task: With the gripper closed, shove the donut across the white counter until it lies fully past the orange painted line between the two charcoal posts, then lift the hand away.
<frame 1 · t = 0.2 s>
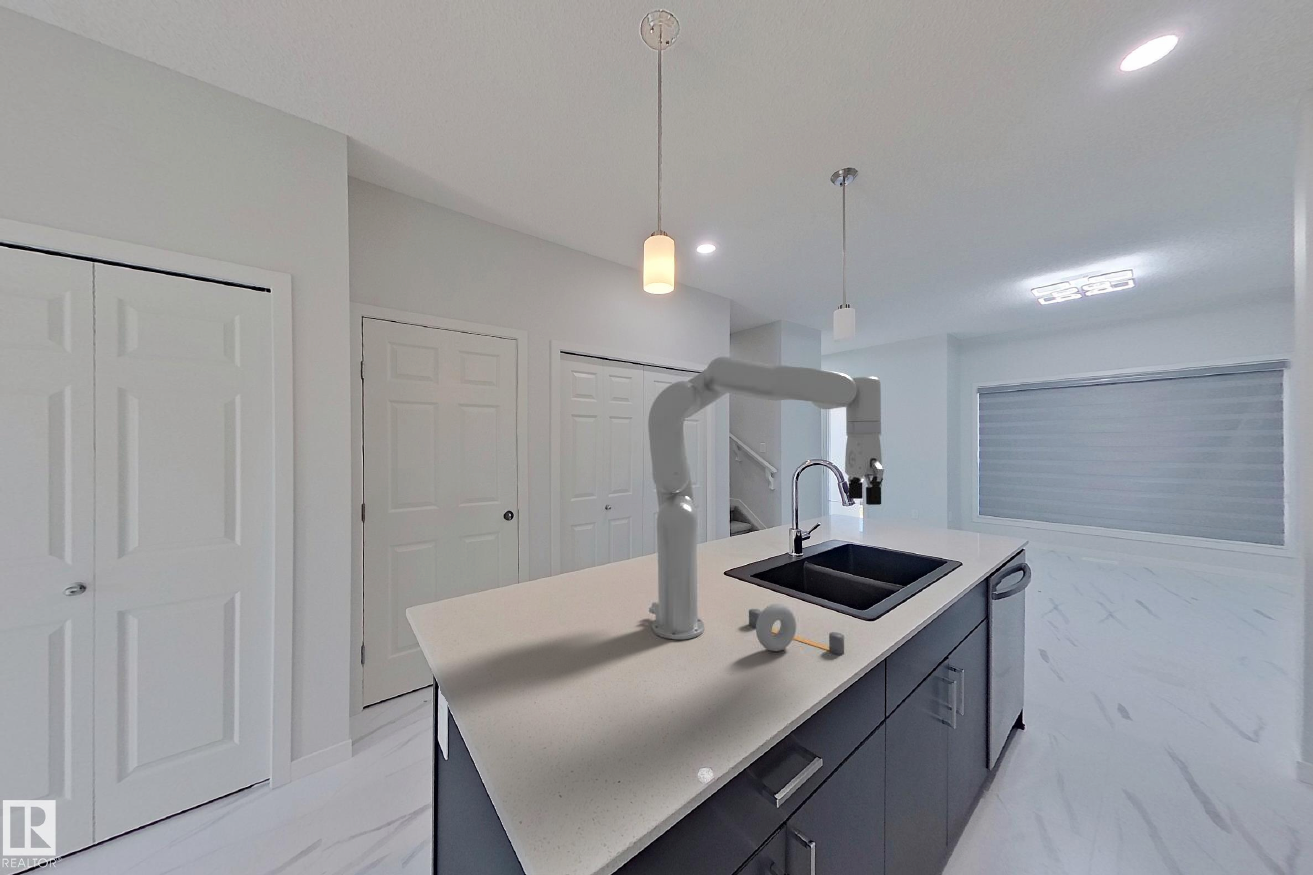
hand: (864, 501, 106), 31 cm above the counter, tool pointing down, fingers open, 9 cm apart
throw line: (793, 637, 103), on the counter
donut: (776, 650, 97), on the counter
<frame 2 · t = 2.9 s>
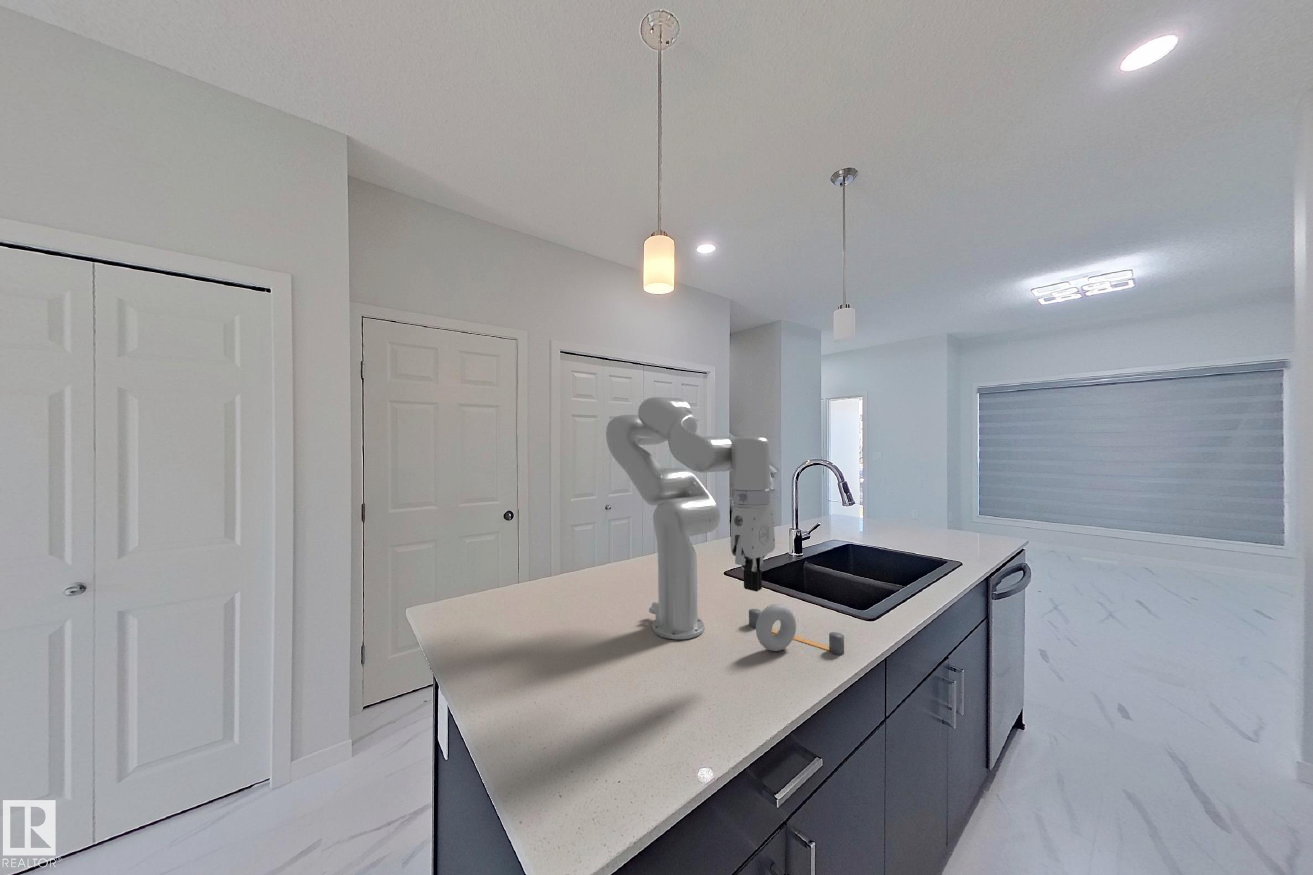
hand: (752, 588, 90), 16 cm above the counter, tool pointing down, fingers closed
nothing on the counter moved.
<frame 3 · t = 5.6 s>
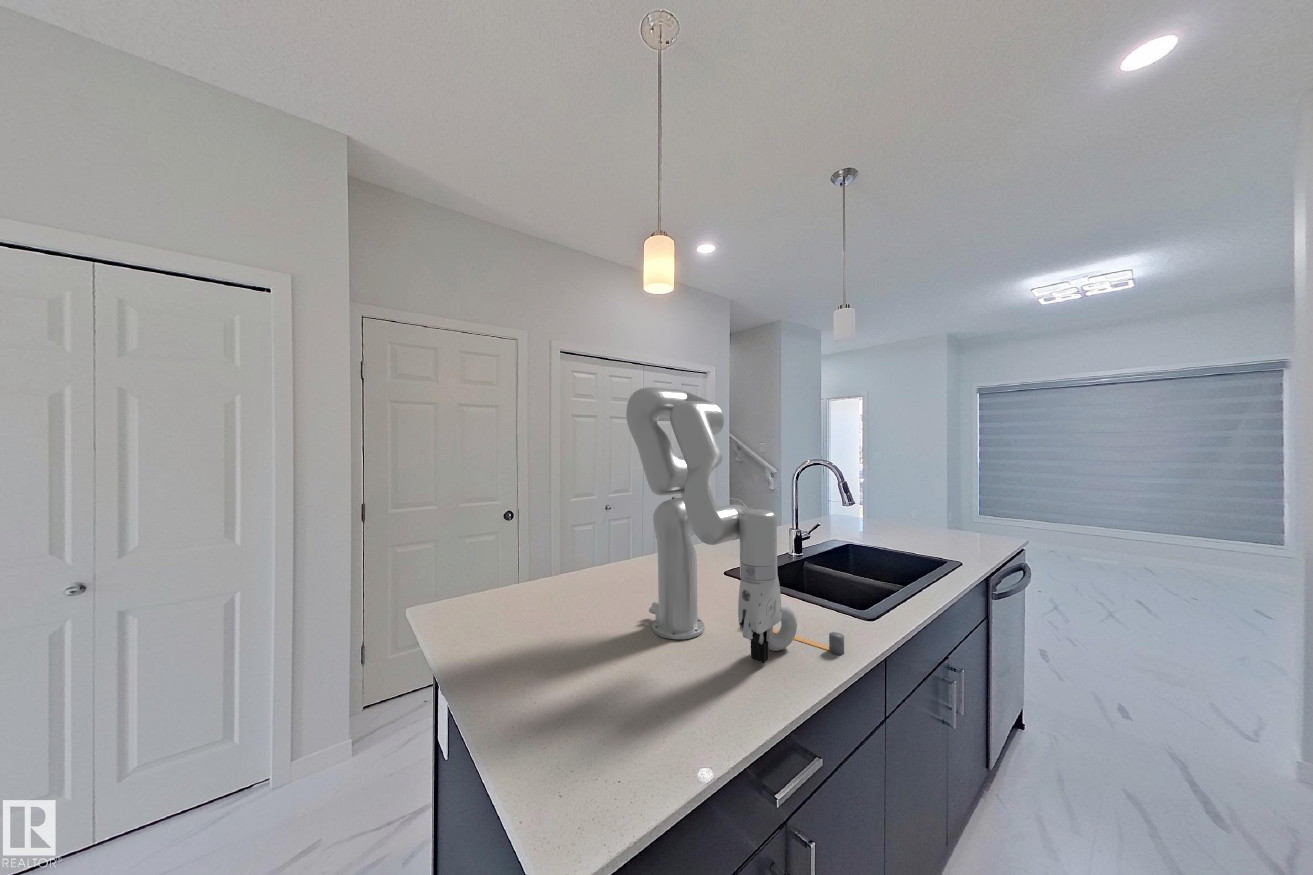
hand: (759, 659, 92), 1 cm above the counter, tool pointing down, fingers closed
donut: (777, 650, 97), on the counter, touching gripper
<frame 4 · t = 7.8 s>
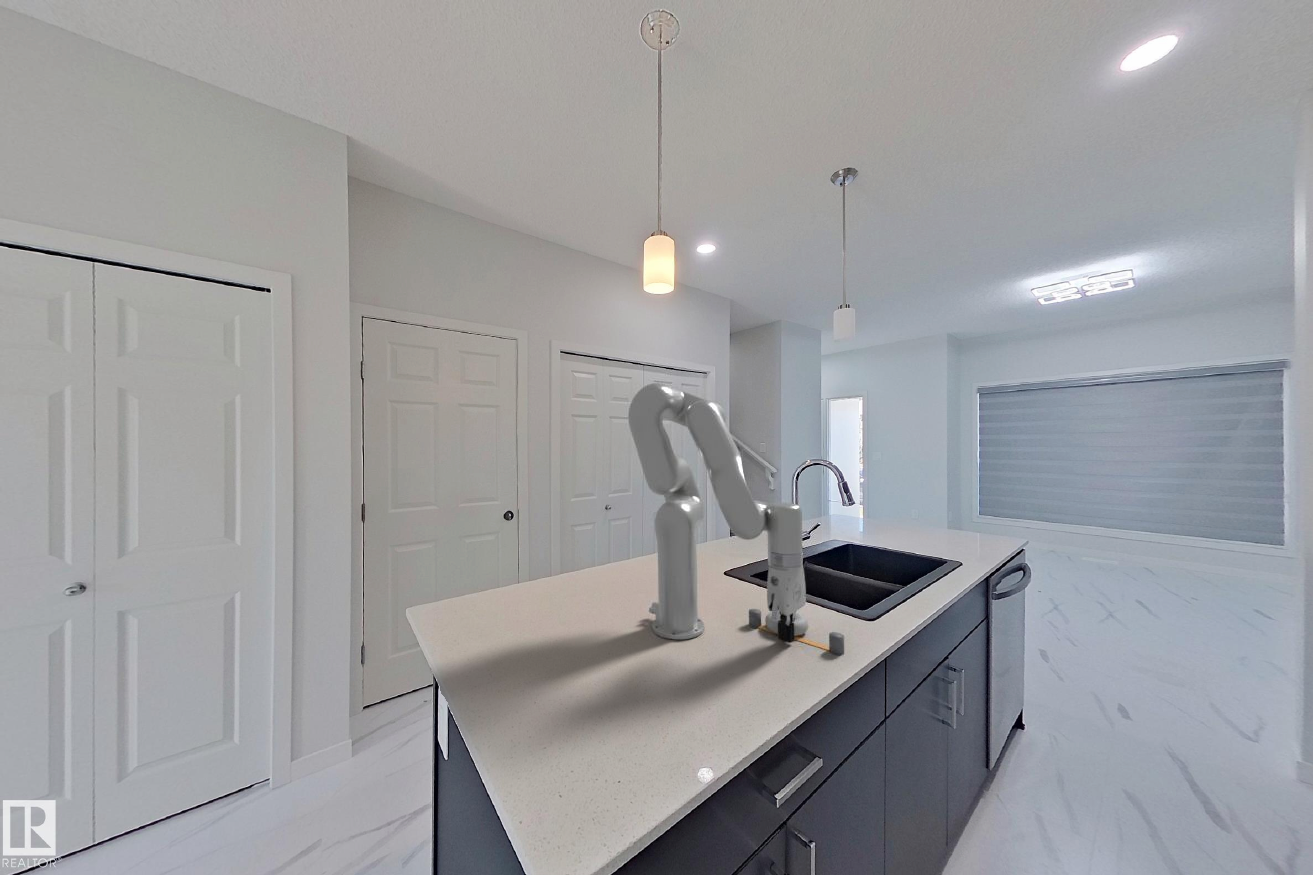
hand: (786, 639, 100), 1 cm above the counter, tool pointing down, fingers closed
donut: (783, 631, 102), point 2 cm above the counter, touching gripper, throw line
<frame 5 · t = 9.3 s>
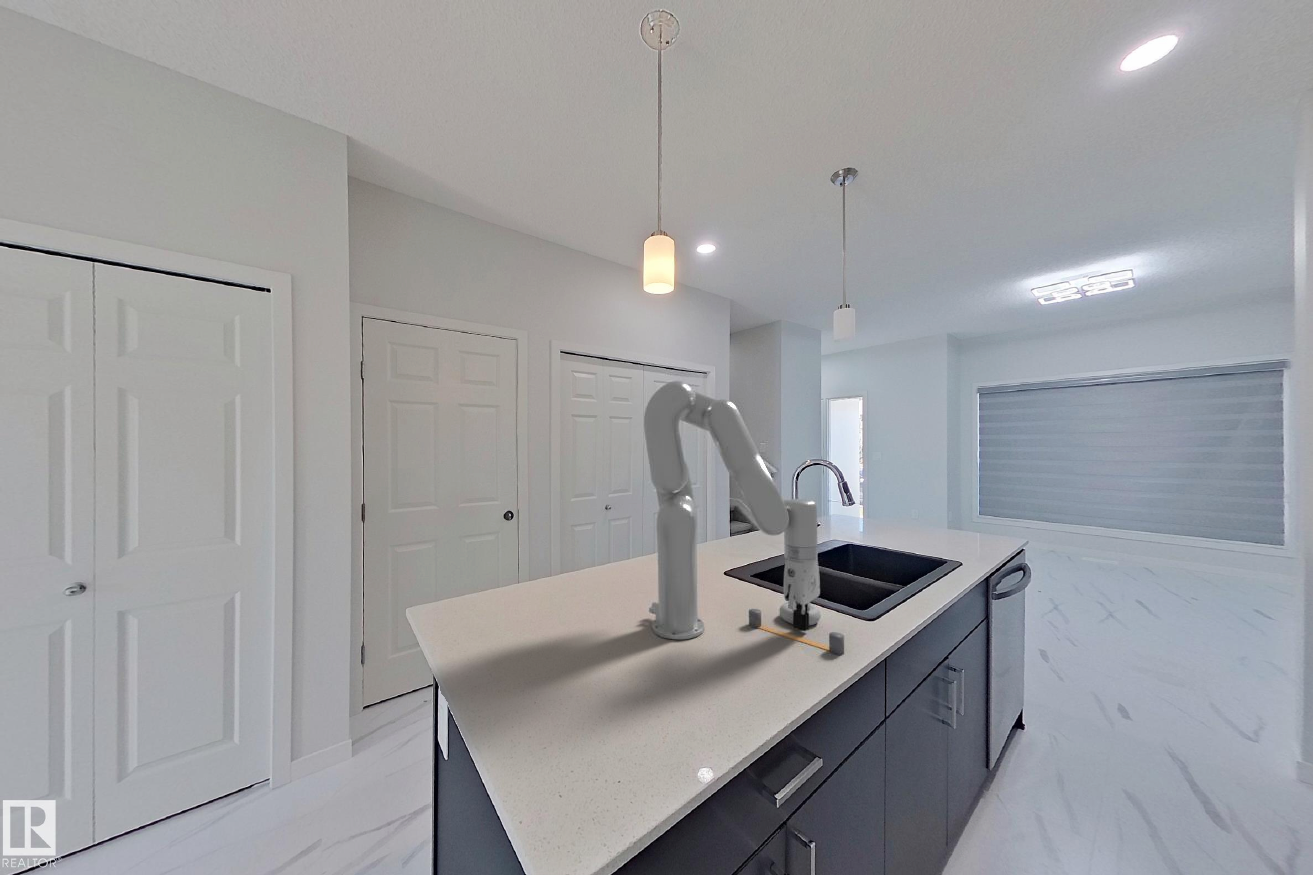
hand: (801, 628, 106), 1 cm above the counter, tool pointing down, fingers closed
donut: (797, 621, 108), point 2 cm above the counter, touching gripper
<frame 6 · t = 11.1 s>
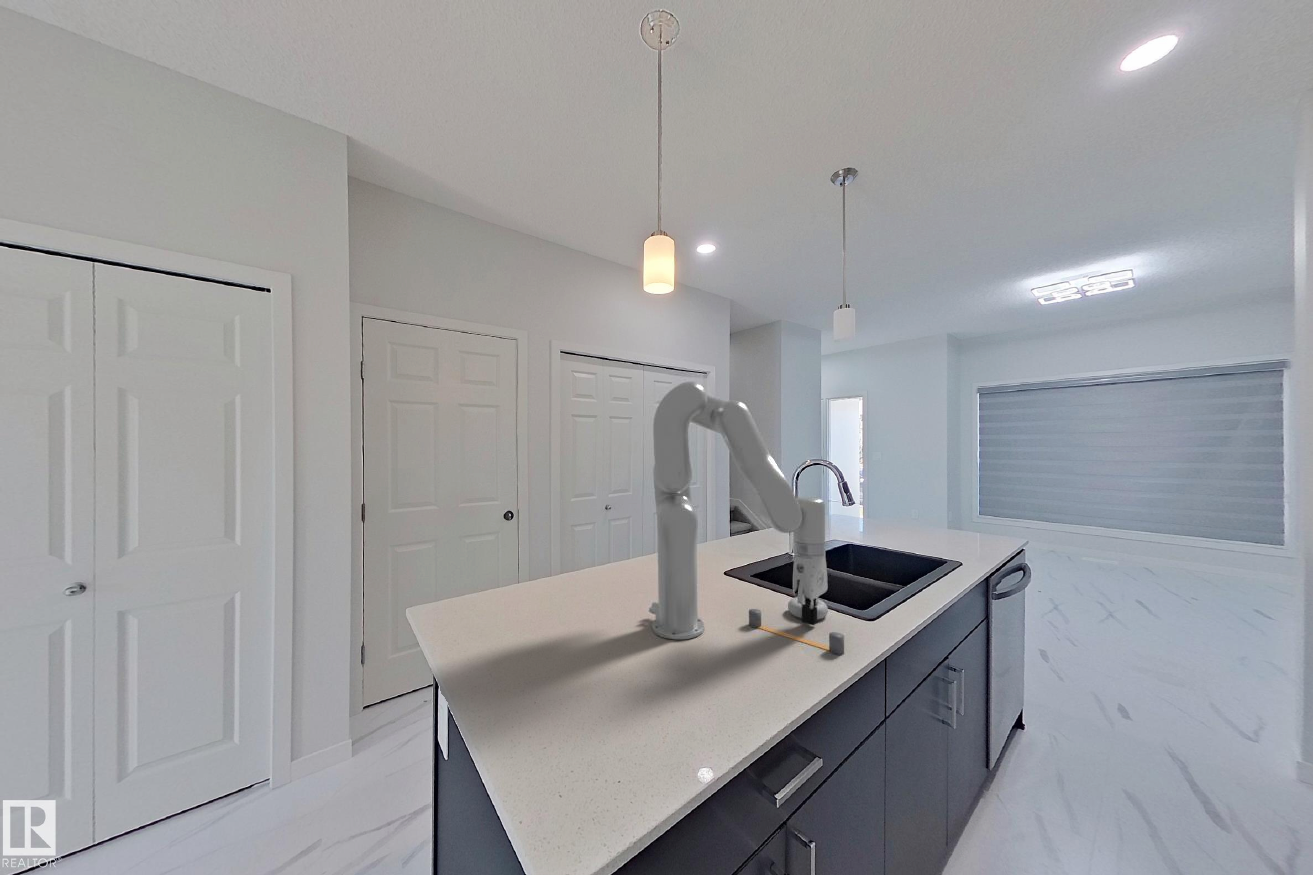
hand: (809, 622, 109), 1 cm above the counter, tool pointing down, fingers closed
donut: (805, 615, 112), point 2 cm above the counter, touching gripper
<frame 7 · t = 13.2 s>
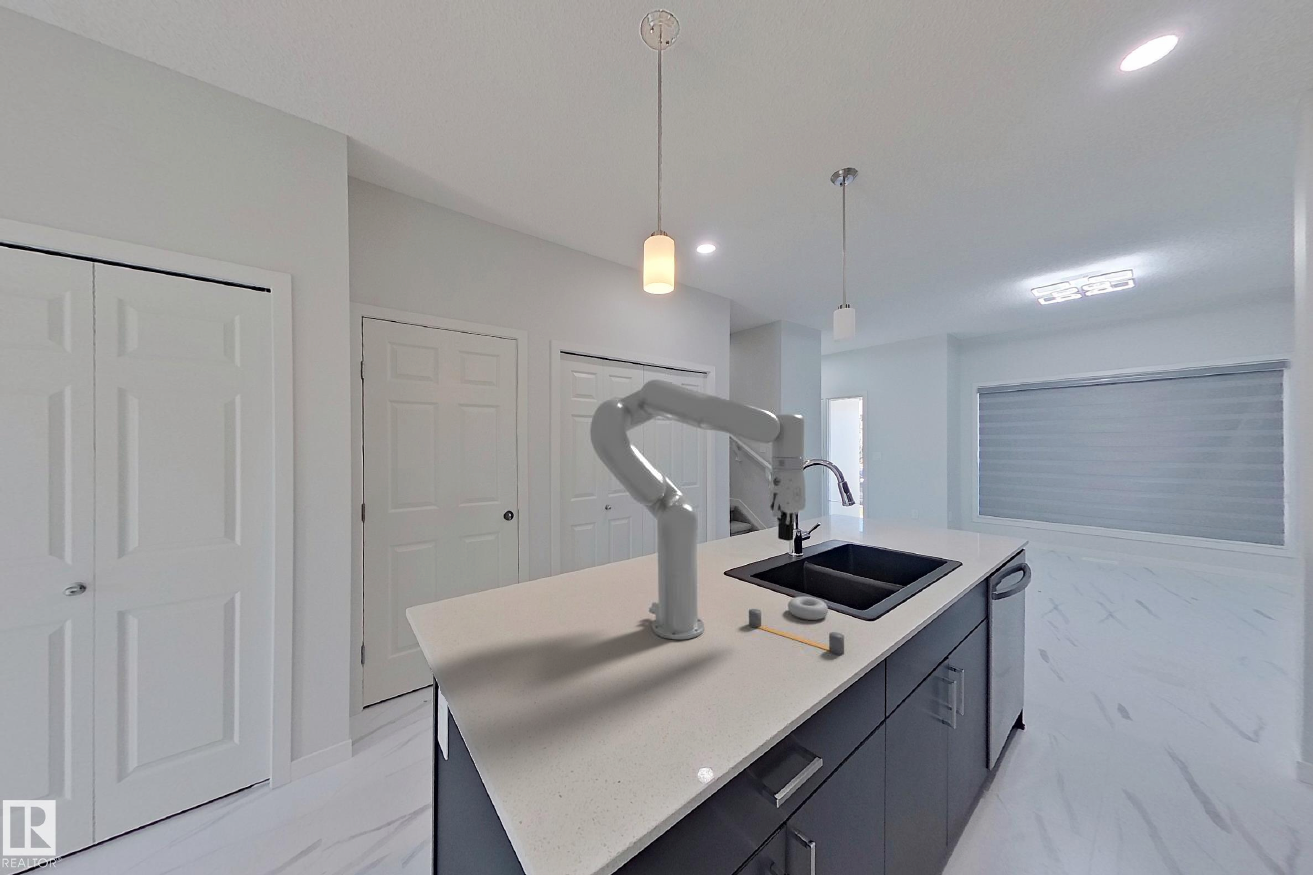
hand: (785, 539, 109), 21 cm above the counter, tool pointing down, fingers closed
donut: (805, 615, 112), point 2 cm above the counter
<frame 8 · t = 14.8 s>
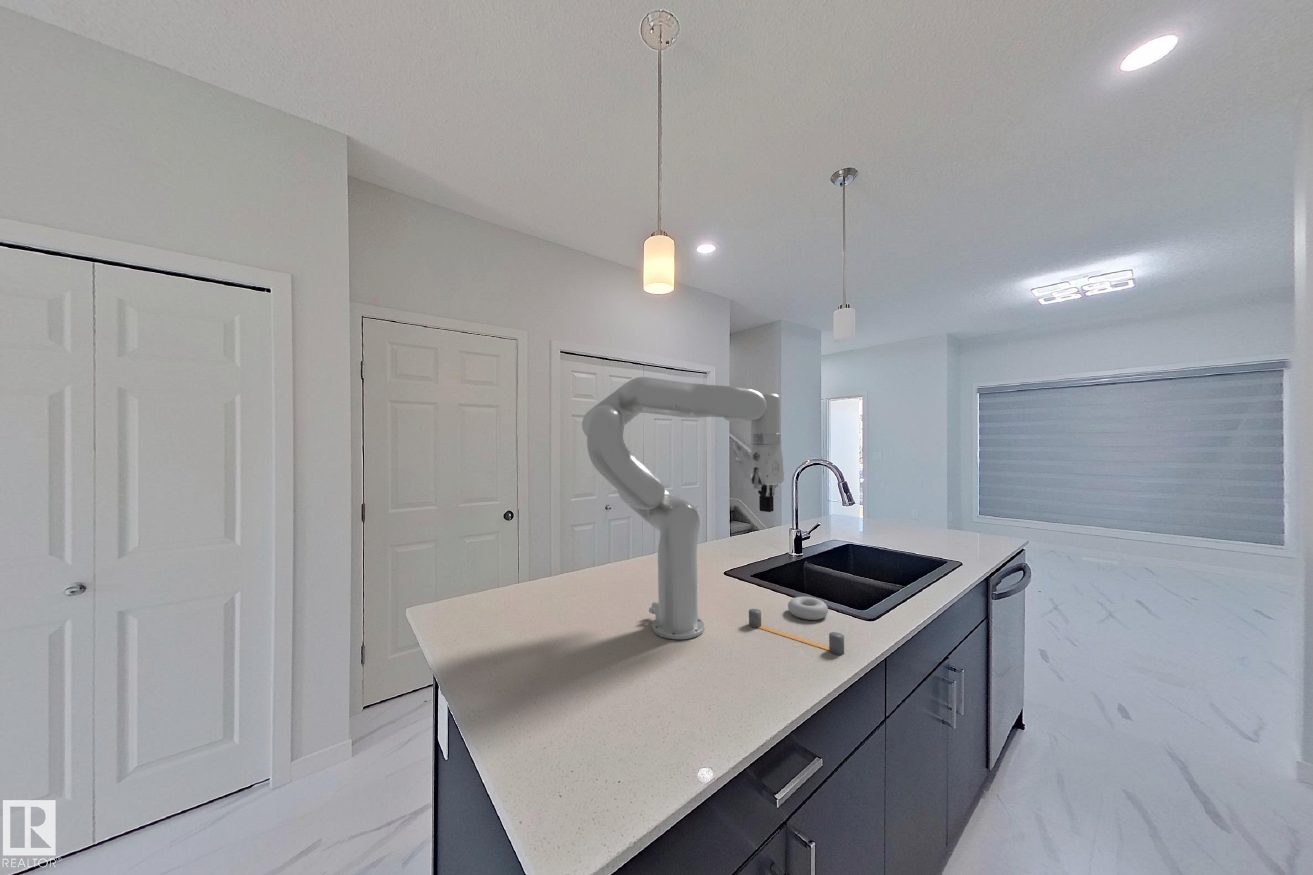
hand: (766, 511, 116), 27 cm above the counter, tool pointing down, fingers closed
nothing on the counter moved.
at the end: donut inside the target area (2.2 cm from its centre), point 1.6 cm above the counter; donut moved 18.3 cm from its start; the gripper is holding nothing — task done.
